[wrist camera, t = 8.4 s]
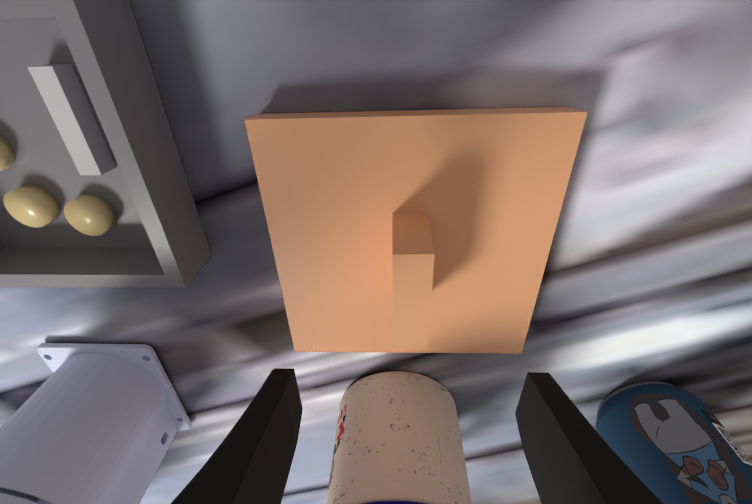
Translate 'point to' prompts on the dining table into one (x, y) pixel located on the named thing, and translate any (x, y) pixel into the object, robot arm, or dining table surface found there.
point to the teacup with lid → (398, 444)
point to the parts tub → (88, 155)
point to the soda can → (675, 445)
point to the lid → (413, 223)
